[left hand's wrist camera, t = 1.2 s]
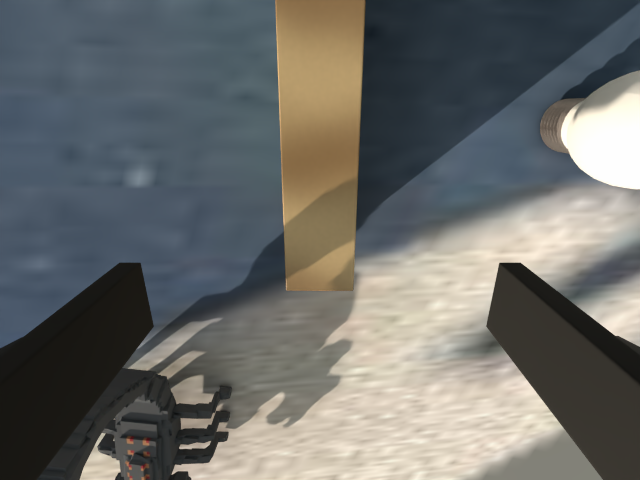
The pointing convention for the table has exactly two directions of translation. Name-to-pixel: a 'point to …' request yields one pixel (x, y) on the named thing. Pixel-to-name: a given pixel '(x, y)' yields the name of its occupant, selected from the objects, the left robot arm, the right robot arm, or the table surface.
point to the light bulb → (600, 131)
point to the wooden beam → (320, 138)
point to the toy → (140, 430)
